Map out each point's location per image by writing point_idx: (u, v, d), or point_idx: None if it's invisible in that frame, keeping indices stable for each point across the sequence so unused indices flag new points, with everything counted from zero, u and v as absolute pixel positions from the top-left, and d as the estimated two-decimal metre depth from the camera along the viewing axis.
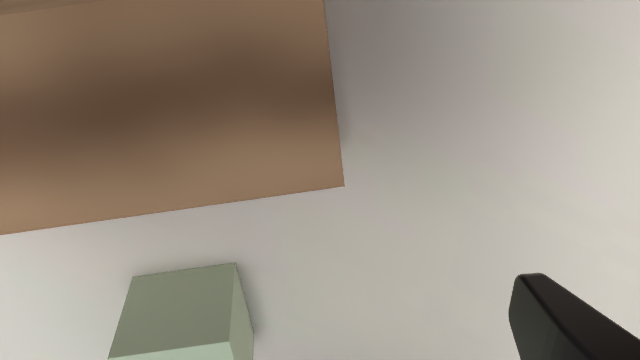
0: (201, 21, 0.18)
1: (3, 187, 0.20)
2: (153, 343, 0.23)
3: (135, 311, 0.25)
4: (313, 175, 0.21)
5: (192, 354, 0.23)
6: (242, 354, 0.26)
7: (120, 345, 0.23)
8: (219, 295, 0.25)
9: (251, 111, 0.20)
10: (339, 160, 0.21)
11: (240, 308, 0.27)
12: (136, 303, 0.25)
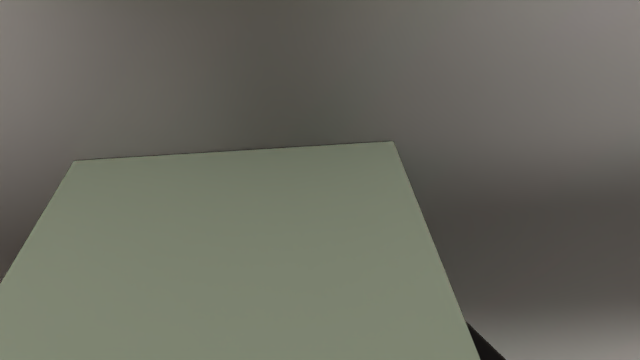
0: None
1: None
2: None
3: None
4: None
5: None
6: (223, 313, 0.06)
7: None
8: None
9: None
10: None
11: (165, 209, 0.07)
12: None
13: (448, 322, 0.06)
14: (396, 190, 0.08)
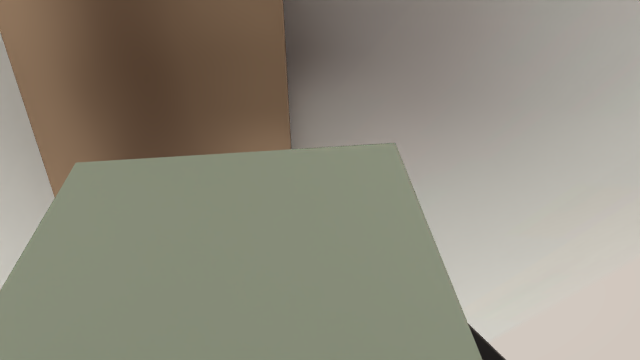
0: None
1: None
2: None
3: None
4: None
5: None
6: (225, 316, 0.06)
7: None
8: None
9: None
10: None
11: (167, 212, 0.07)
12: None
13: (451, 325, 0.06)
14: (398, 192, 0.08)
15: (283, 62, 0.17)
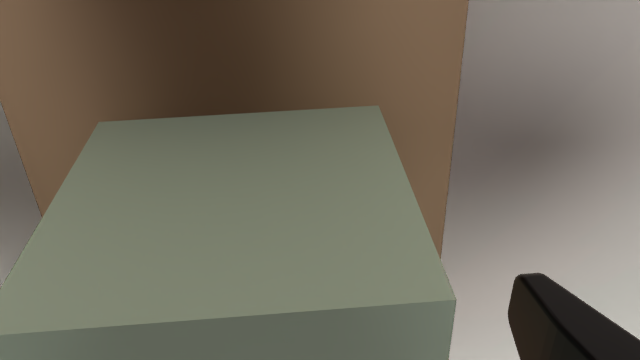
0: (43, 33, 0.09)
1: None
2: None
3: None
4: None
5: None
6: (232, 232, 0.07)
7: None
8: None
9: None
10: None
11: (180, 158, 0.09)
12: None
13: (416, 236, 0.07)
14: (379, 142, 0.09)
15: (446, 184, 0.11)
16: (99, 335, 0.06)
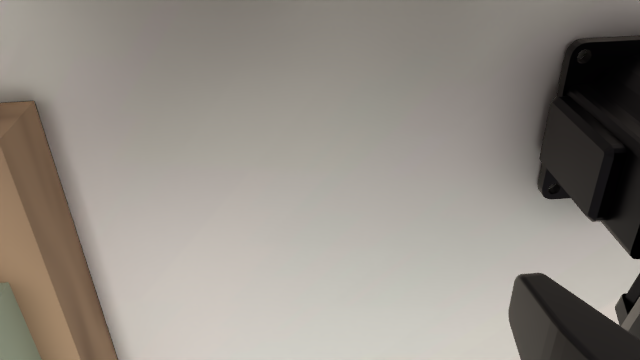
0: None
1: None
2: None
3: None
4: None
5: None
6: None
7: None
8: None
9: None
10: None
11: None
12: None
13: None
14: None
15: (62, 316, 0.21)
16: None
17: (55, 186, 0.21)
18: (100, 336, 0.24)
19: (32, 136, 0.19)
